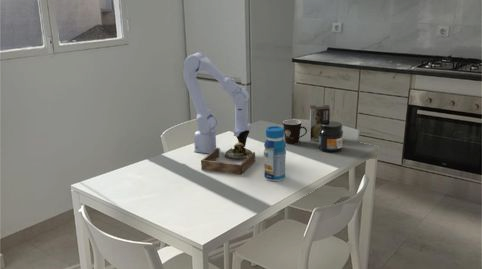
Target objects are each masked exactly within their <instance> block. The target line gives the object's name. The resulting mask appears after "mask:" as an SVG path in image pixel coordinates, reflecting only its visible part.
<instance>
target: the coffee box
mask: <svg viewBox="0 0 482 269" xmlns="http://www.w3.org/2000/svg"><path fill="white" fill-rule="evenodd" d="M309 108H310V109H309V110H310V111H309V141H311V142H315V141H316V142H317V141H318V142H319V130H320V129H321V128H320V126H321V123H322V122H325V121H331V118H330V117H331V108H330V105H329V104H327V105H326V104H321V105H320V104H319V105H318V104H316V105H315V104H313V105H312V104H310V105H309Z"/></svg>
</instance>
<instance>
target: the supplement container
mask: <svg viewBox="0 0 482 269" xmlns="http://www.w3.org/2000/svg"><path fill="white" fill-rule="evenodd" d="M320 128H321V129H320V130H319V141H318V149H319V150H321V151H322V152H325V153H339V152H340V151H342V149H343V139H344V138H343V135H344V130H343V124H342V122H340V121H335V120H330V121H325V122H322V123H321V126H320Z"/></svg>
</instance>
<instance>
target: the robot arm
mask: <svg viewBox="0 0 482 269" xmlns="http://www.w3.org/2000/svg"><path fill="white" fill-rule="evenodd" d="M182 65H183V73H182V76H183V80H184V82H185V85H186V87H187V90H188V93H189V96H190V98H191V100H192V104H193V106H194V109H195V112H196V122H197V130H196V131H195V133H194V137H193V140H194V150H193V152H195V153H203V154H210V153H211V152H213V151H214V150H215V149H217V148H219V150H220V147H219V146H217V132H216V128H215V127H216V126H217V125H218V121H217V118H216V117H215V116H214V114H213V112H212V111H211V110H210V109H209V107H208V105H207V102H206V99H205V96H204V94H203V92H202V88H201V85H200V83H199V81H198V78H197V75H198V73H199V71H200V72H201V71H202V72H206V73H208V74H209V75H210V76H211V77H213V78H214V79H216V81H217V82H219V83H220V88H221V89H222V90H223V91H224V92H225V93H226V94H227V95H229V97H231V98H232V101H233V103H234V114H235V116H234V117H235V120H234V121H235V127H234V131H233V136H234V137H236V139H237V143H239V142H240V143H243V144H244V148H246V145H247V144H246V143H247V139H248V137H249V134H250V131H251V130H252V127H251V125H250V124H251V123H250V122H249V101H248V100H250V92H249V91H248V90H247V89H245V88H243V87H242V86H240V85H239V84H238V83H237V82H235V81H236V80H235V79H234V78H231V77H226V75H224V74H223V73H222V71H220V69H218V67H217V66H215V65H214V63H213V62H212V61H211V59H210V58H208V57H207V56H206V55H205V54H204V53H202V52H195V53H194V54H190V55H188V56H187V57H186V58H185V60H184V61H183V63H182Z"/></svg>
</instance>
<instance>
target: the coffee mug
mask: <svg viewBox="0 0 482 269" xmlns="http://www.w3.org/2000/svg"><path fill="white" fill-rule="evenodd" d="M282 126H283V127H282V128H284V142H285V144H287V145H297V143H298V144H299V143H300V138H302V137H305V136H306V134H307V133H308V130H307V128H306V127H305V126H302V121H301V120H299V119H286V120H283V121H282ZM301 129H304V130H305V132H304V134H302V135H301Z"/></svg>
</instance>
